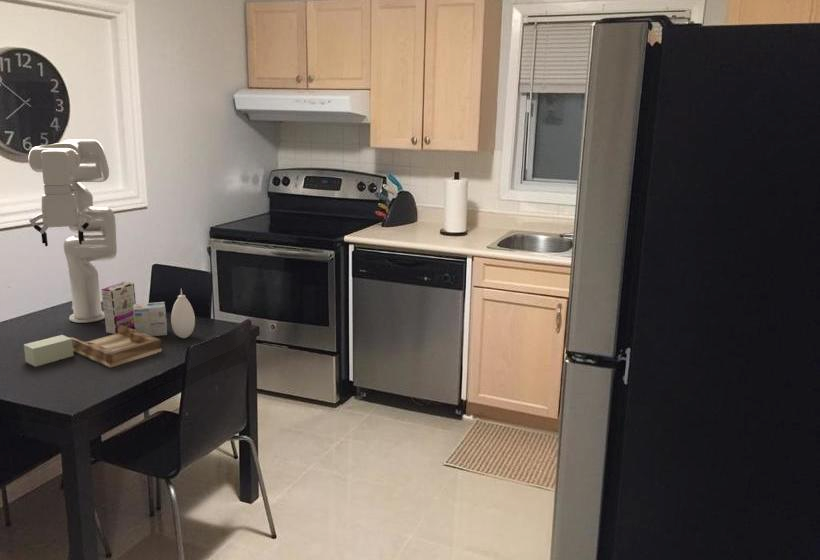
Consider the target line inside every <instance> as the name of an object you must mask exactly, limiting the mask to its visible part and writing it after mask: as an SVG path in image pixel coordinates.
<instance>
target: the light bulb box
mask: <svg viewBox="0 0 820 560" xmlns="http://www.w3.org/2000/svg"><path fill="white" fill-rule="evenodd" d="M133 315H134V326H135V327H134V330H136V331H139V332H142V333H145V334H147V335H150V336H153V337H158V336H159V337H160V336H167V335H168V321H167V311H166V302H165V301H158V302H156V301H155V302H149V303H148V302H147V303H146V302H145V303H136V304H134V306H133Z"/></svg>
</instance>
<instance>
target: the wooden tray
mask: <svg viewBox="0 0 820 560" xmlns="http://www.w3.org/2000/svg"><path fill="white" fill-rule="evenodd" d="M117 327H118V333H117V334H110V335H106V336H102V337H98V338H96V339H91V340H89V341H83V340H81V339H78V338H75V337H74V336H71V337H69V338H71V339H72V345H73V353H77V354H79V355H82V356H84V357H86V358H88V359H90V360H92V361H95V362H97V363H99V364H102V365H104V366H106V367H108V368H113V367H117V366H119V365H123V364H126V363H130V362H133V361H136V360H139V359H143V358H145V357H150V356H151V355H155V354H158V352H159V353H161V351H162V352H163V349H162V339H160V338H157V337H156V336H150V335H147V334H145V333H142V332H139V331H136V330H135V328H128V327H126V326H123V325H117Z"/></svg>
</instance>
